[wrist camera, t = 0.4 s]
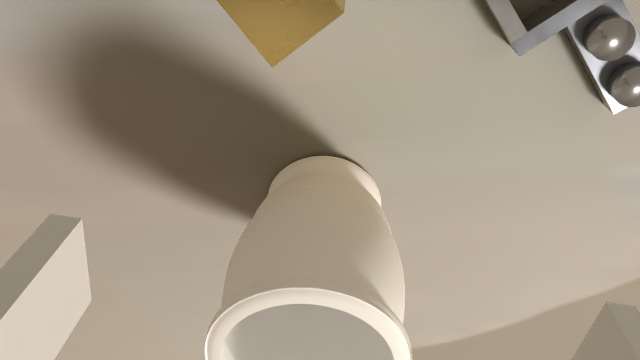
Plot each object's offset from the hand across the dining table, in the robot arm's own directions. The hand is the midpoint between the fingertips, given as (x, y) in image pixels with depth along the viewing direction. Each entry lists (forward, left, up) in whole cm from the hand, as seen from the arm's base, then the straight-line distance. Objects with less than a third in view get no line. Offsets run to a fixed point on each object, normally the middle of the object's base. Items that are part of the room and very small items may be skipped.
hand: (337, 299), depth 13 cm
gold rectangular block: (-6, 0, -22) cm, 23 cm away
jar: (+8, -9, -23) cm, 26 cm away
